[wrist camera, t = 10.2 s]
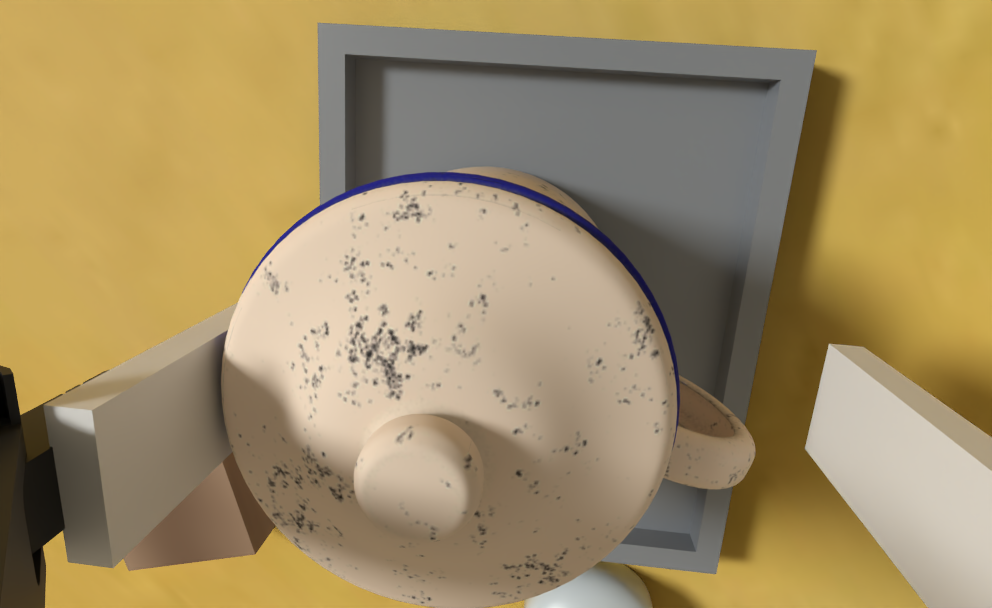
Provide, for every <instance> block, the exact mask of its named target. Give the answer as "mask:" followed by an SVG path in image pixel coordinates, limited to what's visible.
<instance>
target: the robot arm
mask: <svg viewBox="0 0 992 608" xmlns="http://www.w3.org/2000/svg"><path fill="white" fill-rule="evenodd" d="M237 304H238V303H236V304H234V305H232V306H230V307H228V308H226V309H225V310H223V311H221V312H219V313H217V314H215V315H213V316H211V317H209V318H207V319H206V320H204V321H202V322H200V323H198V324H196V325H194V326H192V327H190V328H188V329H187V330H185V331H183V332H181V333H179V334H177V335H175V336H173V337H171V338H170V339H168V340H166V341H164V342H162V343H160V344H158V345H156V346H154V347H152V348H151V349H149V350H147V351H145V352H143V353H141V354H139V355H137V356H135V357H133V358H132V359H130V360H128V361H126V362H124V363H122V364H120V365H118V366H116V367H114V368H113V369H111V370H108V371H104V372H102V373H101V374H99V375H97V376H95V377H93V378H91V379H89V380H87V381H85V382H83V384H82V385H78V386H76V387H74V388H72V389H70V390H68V391H66V393H65V394H60V395H59V396H57V397H55V398H53V399H51V400H49V401H47V402H45V403H43V404H41V405H39V406H38V407H36V408H34V409H32V410H30V411H28V412H26V413H24V414H22V415H20V411H19V406H18V400H17V394H16V388H15V382H14V376H13V373H12V371H11V369H10V368H7V367H3V366H0V608H45V583H46V563H45V557H44V552H43V546H44V545H45V544H46V543H47V542H49V541H50V540H51V539H52V538H54V537H55V536H56V535H57V534H59V533H60V532H61V531H62V530H63V533H64V540H65V546H66V552H67V559H68V562H70V563H78V564H86V565H93V566H101V567H108V568H114V567H115V566H116V565H117V564H118V563H119V562H120V561H121V560H122V559H123V558H124V557H125V556H126V555H127V554H128V553H129V552H130V551H131V550H132V549H133V548H134V547H135V546H136V545H137V544H138V543H139V542H141V541H142V540H143V539H144V538H145V537H146V536H147V535H148V534H149V533H150V532H151V531H152V530H153V529H154V528H155V527H156V526H157V525H158V524H159V523H160V522H161V521H162V520H163V519H164V518H165V517H166V516H167V515H168V514H169V513H170V512H171V511H172V510H173V509H174V508H175V507H176V506H177V505H178V504H180V503H181V502H182V501H183V500H184V499H185V498H186V497H187V496H188V495H189V494H190V493H191V492H192V491H193V490H194V489H195V488H196V487H197V486H198V485H199V484H200V483H201V482H202V481H203V480H204V479H205V478H206V477H207V476H208V475H209V474H210V473H211V472H212V471H213V470H214V469H215V468H216V467H217V466H219V465H220V464H221V463H222V462H223V461H224V460H225V459H226V458H227V457H228V456H229V455H230V454H231V453H232V452H233V451H232V448H231V445H230V442H229V438H228V434H227V430H226V426H225V421H224V413H223V406H222V393H221V371H222V358H223V352H224V346H225V341H226V336H227V333H228V329H229V326H230V322H231V319H232V316H233V314H234V311H235V309H236V306H237ZM805 450H806V451H807V452H808V453H809V455H810V456H811V457H812V459H813V460H814V461H815V462H816V464H817V465H818V466H819V468H820V469H821V470H822V472H823V473H824V474H825V475H826V477H827V478H828V479H829V481H830V482H831V483H832V484H833V486H834V487H835V488H836V490H837V491H838V492H839V493H840V495H841V496H842V497H843V499H844V500H845V501H846V503H847V504H848V505H849V506H850V508H851V509H852V510H853V512H854V513H855V514H856V515H857V517H858V518H859V519H860V521H861V522H862V523H863V524H864V526H865V527H866V528H867V530H868V531H869V532H870V534H871V535H872V536H873V537H874V539H875V540H876V541H877V543H878V544H879V545H880V546H881V548H882V549H883V550H884V552H885V553H886V554H887V555H888V557H889V558H890V559H891V561H892V562H893V563H894V565H895V566H896V567H897V568H898V570H899V571H900V572H901V574H902V575H903V576H904V577H905V579H906V580H907V581H908V583H909V584H910V585H911V586H912V588H913V589H914V590H915V592H916V593H917V594H918V596H919V597H920V598H921V599H922V601H923V602H924V603H925V605H926V606H927V607H928V608H992V437H990V436H989V435H987V434H986V433H985V432H983V431H982V430H980V429H979V428H978V427H976V426H975V425H973V424H972V423H970V422H969V421H968V420H966V419H965V418H963V417H962V416H961V415H959V414H958V413H956V412H955V411H953V410H952V409H951V408H949V407H948V406H946V405H945V404H944V403H942V402H941V401H939V400H938V399H936V398H935V397H934V396H932V395H931V394H929V393H928V392H927V391H925V390H924V389H922V388H921V387H919V386H918V385H917V384H915V383H914V382H912V381H911V380H910V379H908V378H907V377H905V376H904V375H902V374H901V373H900V372H898V371H897V370H895V369H894V368H893V367H891V366H890V365H888V364H887V363H885V362H884V361H883V360H881V359H880V358H878V357H877V356H876V355H874V354H873V353H871V352H870V351H869V350H867V349H866V348H864V347H861V346H850V345H839V344H829V346H828V350H827V355H826V359H825V363H824V368H823V372H822V376H821V381H820V385H819V389H818V394H817V398H816V402H815V407H814V411H813V415H812V420H811V424H810V428H809V433H808V437H807V441H806V446H805Z"/></svg>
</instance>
